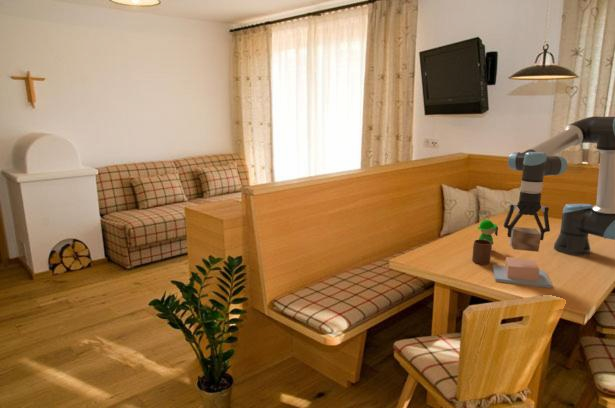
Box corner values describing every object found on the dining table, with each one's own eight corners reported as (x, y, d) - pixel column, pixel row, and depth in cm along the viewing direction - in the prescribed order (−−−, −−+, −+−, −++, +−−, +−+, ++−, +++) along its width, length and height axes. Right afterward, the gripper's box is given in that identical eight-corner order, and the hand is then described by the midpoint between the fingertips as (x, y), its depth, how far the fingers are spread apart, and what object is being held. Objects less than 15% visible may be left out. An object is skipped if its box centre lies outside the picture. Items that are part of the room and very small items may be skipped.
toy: (496, 253, 205) (499, 222, 201) (477, 251, 206) (480, 221, 203) (492, 247, 213) (495, 218, 210) (473, 246, 215) (476, 217, 212)
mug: (476, 255, 202) (478, 236, 200) (493, 258, 198) (495, 238, 196) (470, 262, 192) (472, 242, 190) (488, 266, 188) (490, 245, 186)
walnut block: (533, 244, 176) (535, 228, 174) (538, 251, 167) (540, 234, 166) (509, 242, 178) (511, 226, 177) (513, 249, 170) (515, 232, 168)
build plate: (544, 273, 180) (546, 259, 178) (551, 288, 165) (553, 273, 164) (492, 267, 186) (494, 253, 185) (495, 281, 172) (497, 266, 170)
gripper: (560, 191, 168) (552, 246, 173) (499, 188, 175) (494, 240, 180) (564, 195, 161) (556, 252, 166) (501, 191, 168) (495, 245, 173)
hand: (523, 246), depth 173 cm, fingers closed on walnut block, 9 cm apart
